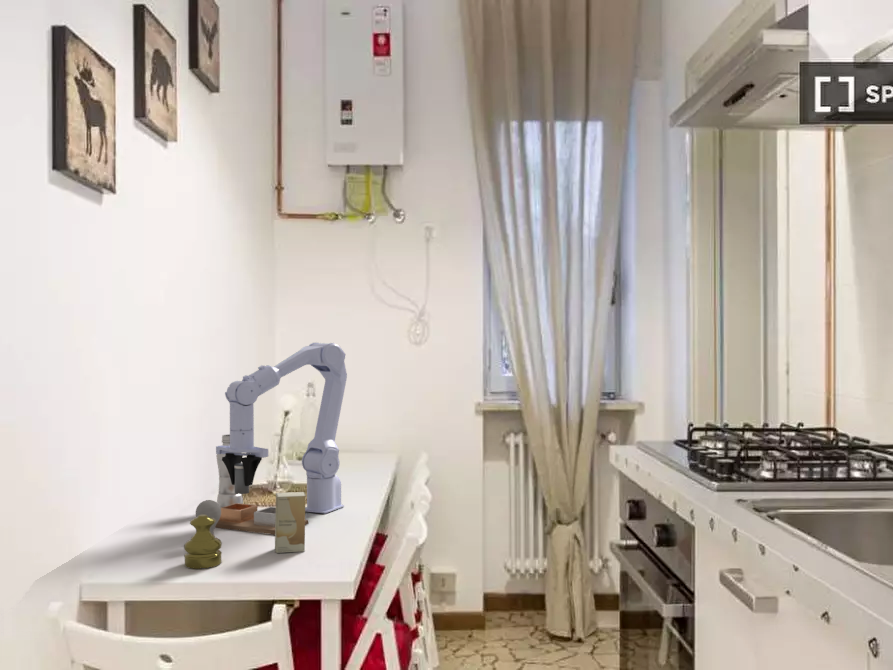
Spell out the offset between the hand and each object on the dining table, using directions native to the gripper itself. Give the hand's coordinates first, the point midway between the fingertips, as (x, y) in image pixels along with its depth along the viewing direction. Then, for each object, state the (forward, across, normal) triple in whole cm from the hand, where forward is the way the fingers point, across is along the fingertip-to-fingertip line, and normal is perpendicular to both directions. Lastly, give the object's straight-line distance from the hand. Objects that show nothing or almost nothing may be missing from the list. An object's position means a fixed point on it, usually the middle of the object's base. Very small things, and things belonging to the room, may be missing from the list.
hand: (242, 484), depth 203 cm
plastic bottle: (+10, -11, +9) cm, 18 cm away
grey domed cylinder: (+2, 0, 0) cm, 2 cm away
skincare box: (+10, +26, -16) cm, 32 cm away
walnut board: (+9, +5, 0) cm, 10 cm away
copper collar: (+9, -1, 0) cm, 9 cm away
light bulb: (+10, +6, -20) cm, 23 cm away
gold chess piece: (+10, +15, -32) cm, 37 cm away
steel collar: (+8, +10, 0) cm, 13 cm away
